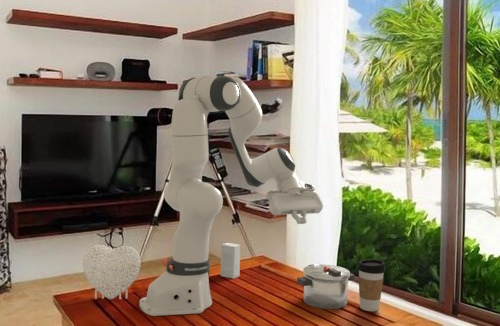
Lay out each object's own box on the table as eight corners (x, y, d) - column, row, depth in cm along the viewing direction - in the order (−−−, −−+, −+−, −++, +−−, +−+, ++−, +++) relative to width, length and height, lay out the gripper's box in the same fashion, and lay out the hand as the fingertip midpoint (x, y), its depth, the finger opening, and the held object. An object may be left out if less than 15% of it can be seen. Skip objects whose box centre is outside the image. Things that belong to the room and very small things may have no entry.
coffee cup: (385, 313, 157) (388, 265, 156) (358, 312, 157) (360, 264, 156) (379, 303, 165) (382, 258, 164) (353, 302, 166) (355, 257, 164)
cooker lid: (319, 283, 155) (319, 275, 155) (293, 269, 170) (294, 262, 169) (359, 278, 162) (359, 271, 162) (331, 265, 176) (331, 258, 176)
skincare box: (239, 276, 190) (240, 244, 189) (233, 279, 186) (234, 246, 185) (226, 273, 193) (227, 242, 192) (219, 276, 189) (220, 244, 188)
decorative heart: (143, 294, 167) (144, 242, 166) (135, 305, 156) (136, 250, 155) (88, 292, 167) (88, 240, 165) (77, 303, 156) (77, 248, 155)
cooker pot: (310, 312, 156) (312, 283, 155) (288, 297, 168) (289, 271, 168) (362, 304, 164) (364, 277, 163) (337, 291, 177) (339, 265, 176)
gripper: (268, 186, 180) (279, 219, 172) (317, 185, 188) (330, 217, 180) (262, 196, 184) (272, 229, 176) (310, 195, 193) (322, 226, 185)
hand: (302, 223), depth 178 cm, fingers closed
